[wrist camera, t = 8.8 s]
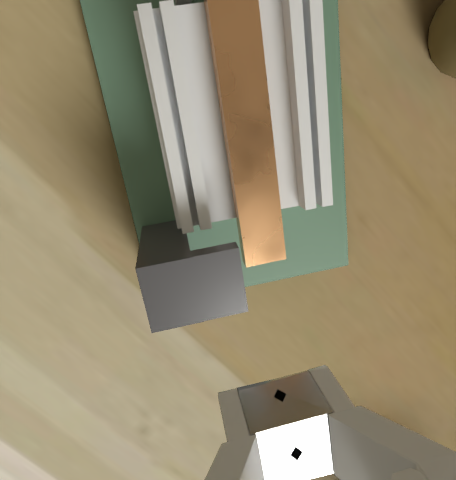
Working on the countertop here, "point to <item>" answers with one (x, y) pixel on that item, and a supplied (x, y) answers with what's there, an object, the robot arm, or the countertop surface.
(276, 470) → the robot arm
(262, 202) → the strap
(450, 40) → the squeeze bottle
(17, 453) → the countertop surface
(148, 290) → the block
